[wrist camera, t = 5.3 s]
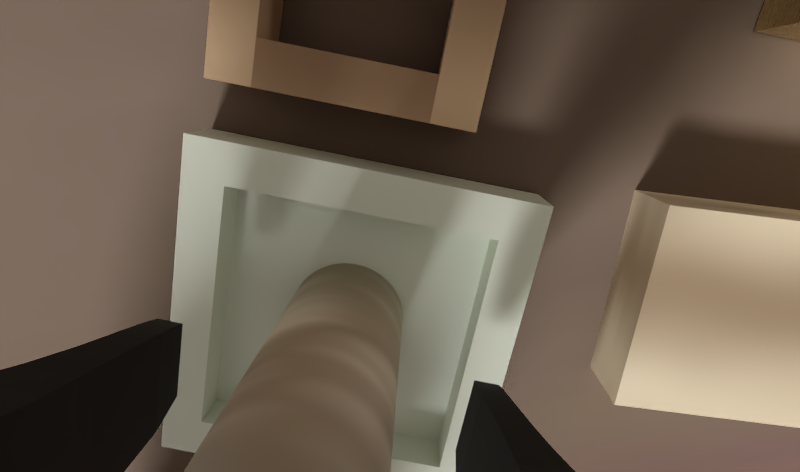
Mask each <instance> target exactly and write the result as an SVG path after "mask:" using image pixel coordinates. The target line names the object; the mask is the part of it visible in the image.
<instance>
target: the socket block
mask: <svg viewBox="0 0 800 472" xmlns="http://www.w3.org/2000/svg"><path fill="white" fill-rule="evenodd" d="M506 2H507V0H453V2H452V7H451V12H450V17H449V22H448V27H447V32H446V36H445V41H444V46H443V51H442V56H441V61H440V66H439V71H438V74H435V73H430V72H425V71H420V70H415V69H410V68H405V67H400V66H395V65H391V64H386V63H381V62H376V61H371V60H366V59H361V58H356V57H351V56H346V55H341V54H336V53H332V52H327V51H322V50H317V49H312V48H307V47H302V46H297V45H292V44H287V43H282V42H279V37H280V28H281V20H282V12H283V3H284V0H210V5H209V18H208V30H207V43H206V55H205V68H204V78H207V79H212V80H217V81H222V82H227V83H232V84H237V85H242V86H247V87H252V88H257V89H262V90H267V91H272V92H277V93H281V94H286V95H291V96H296V97H301V98H306V99H311V100H316V101H321V102H326V103H331V104H336V105H341V106H346V107H351V108H356V109H361V110H366V111H371V112H376V113H381V114H385V115H390V116H395V117H400V118H405V119H410V120H415V121H420V122H425V123H430V124H435V125H440V126H445V127H450V128H455V129H460V130H465V131H470V132H475V133H476V131H477V126H478V122H479V118H480V114H481V109H482V105H483V101H484V96H485V92H486V88H487V84H488V79H489V75H490V71H491V66H492V62H493V58H494V54H495V49H496V45H497V41H498V36H499V32H500V28H501V24H502V19H503V15H504V11H505V6H506Z"/></svg>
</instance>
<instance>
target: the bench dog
mask: <svg viewBox="0 0 800 472" xmlns="http://www.w3.org/2000/svg"><path fill="white" fill-rule="evenodd" d="M754 32H757V33H762V34H767V35H772V36H777V37H781V38H786V39H791V40H796V41H800V0H765V2H764V4H763V7H762V10H761V12H760V15H759V18H758V21H757V23H756V26H755V29H754Z"/></svg>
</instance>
